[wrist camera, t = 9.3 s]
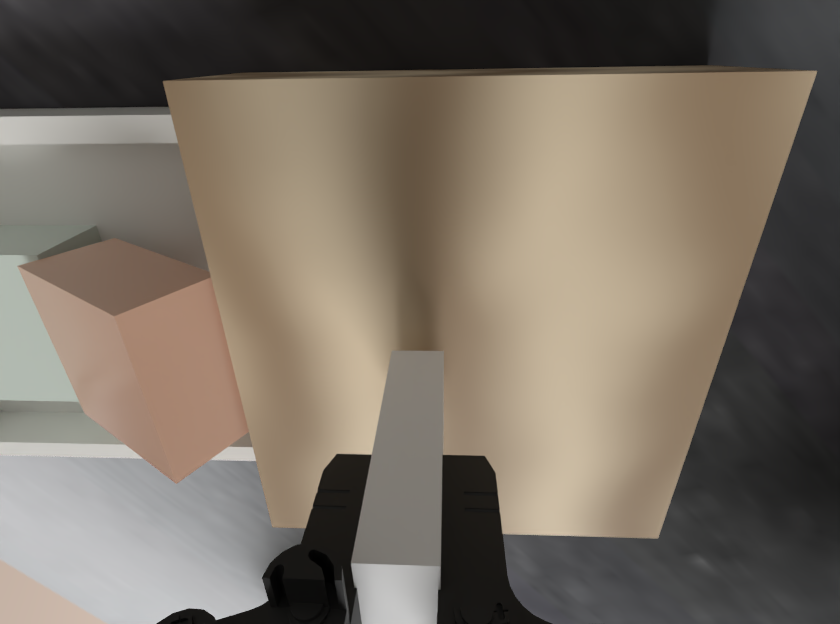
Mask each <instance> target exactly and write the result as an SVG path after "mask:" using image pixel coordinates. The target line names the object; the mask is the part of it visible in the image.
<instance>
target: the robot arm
mask: <svg viewBox="0 0 840 624" xmlns="http://www.w3.org/2000/svg"><path fill="white" fill-rule="evenodd" d="M443 441H444V351H392V352H391V357H390V362H389V368H388V373H387V378H386V383H385V388H384V394H383V399H382V404H381V409H380V415H379V420H378V425H377V430H376V435H375V441H374V446H373V451H372V455H369V454H336V455H335V457H334V458H333V459H332V460H331V461H330V463H329V464H328V465H327V466H326V467H325V469H324V470H323V473H322V476H321V479H320V483H319V486H318V491H317V493H316V496H315V499H314V502H313V508H312V509H311V512H310V516H309V519H308V522H307V526H306V529H305V532H304V536H303V539H302V542H301V544H299V545H296V546H293V547H291V548H289V549H287V550H285V551H283V552H282V553H281V554H280V555H279V556H277V557H276V558H275V559H274V560H273V561H272V562H271V563H270V564H269V566H268V568H267V570H266V572H265V573H264V575H263V577H262V579H263V583H264V586H265V590H266V593H267V597H268V600H269V601H267V602H266V603H264V604H263V605H261V606H259V607H256V608H254V609H252V610H249V611H246V612H242V613H239V614H236V615H232V616H229V617H226V618H222V619H219V620H215V618H214V616H212V615H211V614H209V613H208V612H206V611H205V610H201V609H190V608H189V609H186V610H182V611H179V612H175V613H173V614H171V615H169V616H168V617H166V618H165V619H163V620H161V621H160V622H158V623H157V624H552V623H549V622H546V621H544V620H542V619H540V618H538V617H537V616H535V615H533V614H532V613H531V612H529V611H528V610H527V609H526V608H524V607H523V606H522V604H521V603H520V602H519V601H518V599H517V598H516V597H515V595H514V593H513V591H512V589H511V587H510V584H509V580H508V576H507V569H506V560H505V551H504V542H503V533H502V525H501V516H500V507H499V498H498V489H497V481H496V473H495V471H494V470H493V468H492V466H491V465H490V463H489V462H488V460H487V458H486V457H485V456H474V455H443Z"/></svg>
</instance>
